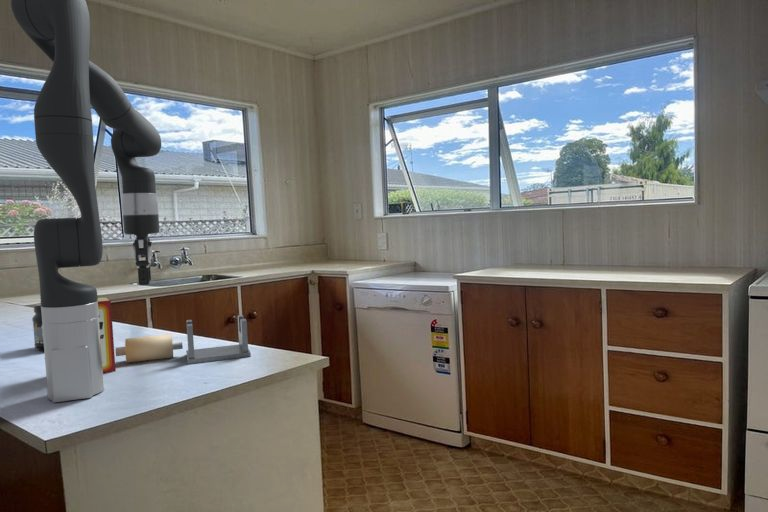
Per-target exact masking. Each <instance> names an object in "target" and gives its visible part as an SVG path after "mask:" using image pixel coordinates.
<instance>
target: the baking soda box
mask: <svg viewBox="0 0 768 512" xmlns="http://www.w3.org/2000/svg"><path fill="white" fill-rule="evenodd" d="M98 313H99V328H100V342H101V356H102V369H103V374H106V372H108V373H113V372H112V371H114V372H116V371H117V370H116V359H115V358H116V354H115V343H114V341H115V340H114V329H113V316H112V314H113V313H112V302H111V299H110V297H108V296H107V297H98Z"/></svg>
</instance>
